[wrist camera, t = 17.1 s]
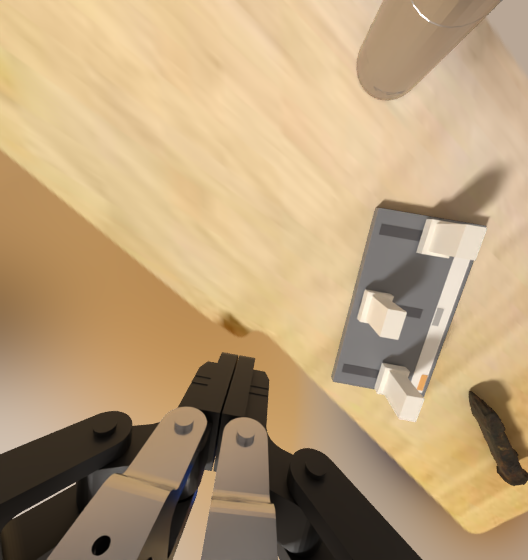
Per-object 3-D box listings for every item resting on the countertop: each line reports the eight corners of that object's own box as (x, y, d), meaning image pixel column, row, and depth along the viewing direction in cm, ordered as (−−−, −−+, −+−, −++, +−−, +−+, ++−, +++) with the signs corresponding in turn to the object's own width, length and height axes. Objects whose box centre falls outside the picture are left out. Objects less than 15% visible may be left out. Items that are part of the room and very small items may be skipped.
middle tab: (364, 289, 41) (383, 304, 33) (389, 293, 41) (413, 309, 33) (356, 318, 42) (373, 338, 35) (381, 322, 42) (402, 344, 35)
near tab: (426, 219, 38) (461, 219, 30) (453, 223, 38) (495, 224, 30) (416, 252, 39) (447, 260, 32) (442, 257, 39) (480, 265, 32)
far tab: (382, 362, 43) (402, 391, 36) (405, 366, 43) (430, 396, 36) (374, 387, 45) (392, 420, 37) (397, 392, 45) (420, 425, 37)
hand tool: (515, 462, 49) (539, 486, 44) (493, 468, 49) (515, 493, 45) (482, 382, 46) (505, 400, 41) (460, 391, 46) (480, 409, 42)
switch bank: (375, 208, 40) (379, 207, 38) (478, 225, 39) (487, 226, 38) (331, 376, 47) (333, 382, 45) (418, 392, 46) (423, 398, 45)
